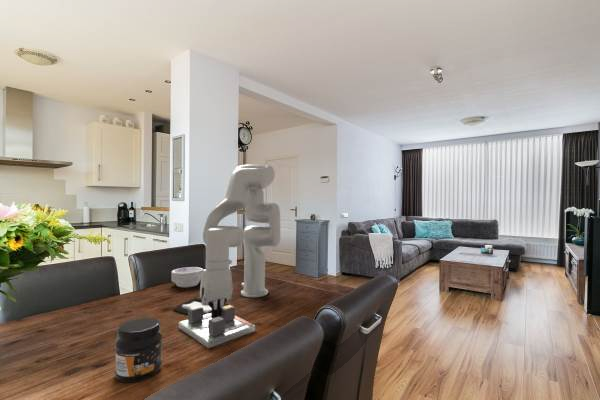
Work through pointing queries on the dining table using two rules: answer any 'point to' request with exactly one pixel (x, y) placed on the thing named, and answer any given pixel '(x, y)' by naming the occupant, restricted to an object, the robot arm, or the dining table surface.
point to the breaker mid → (228, 313)
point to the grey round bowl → (187, 276)
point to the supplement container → (138, 349)
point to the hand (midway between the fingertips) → (216, 319)
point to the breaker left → (195, 314)
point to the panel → (201, 334)
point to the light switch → (191, 303)
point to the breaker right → (216, 326)
